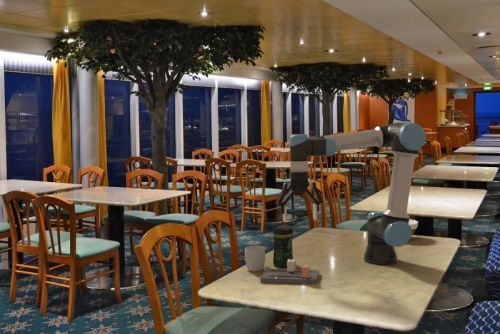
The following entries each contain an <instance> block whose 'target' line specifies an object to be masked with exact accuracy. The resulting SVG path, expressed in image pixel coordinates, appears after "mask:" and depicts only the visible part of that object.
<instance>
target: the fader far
mask: <svg viewBox="0 0 500 334" xmlns="http://www.w3.org/2000/svg"><path fill="white" fill-rule="evenodd" d="M286 269H287V271H289V272H294V271H295V270H296V259H294V258H293V259H288V261H287V267H286Z"/></svg>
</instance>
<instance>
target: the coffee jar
mask: <svg viewBox="0 0 500 334" xmlns="http://www.w3.org/2000/svg"><path fill="white" fill-rule="evenodd" d="M293 235H294V232H293V226H292V225H289V224H282V225H279V226H276V227H275V226H274V228H273V231H272V237H273V258H272V261H273V262H272V264H273V266H274V267H276V268H287V261H288V259H294V255H293Z"/></svg>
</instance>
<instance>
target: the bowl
mask: <svg viewBox="0 0 500 334" xmlns="http://www.w3.org/2000/svg"><path fill="white" fill-rule="evenodd" d="M409 225H410V227H411V230H412V235H411V237H412V236H413V235H414V233H415V232H416V230H417V228H418V226H419V221H418V220H415V219H412V218H409Z"/></svg>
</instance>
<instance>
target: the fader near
mask: <svg viewBox="0 0 500 334" xmlns="http://www.w3.org/2000/svg"><path fill="white" fill-rule="evenodd" d="M301 270H302V277H304V278H309V276H310V270H311V265H310V264H302V265H301Z"/></svg>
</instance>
